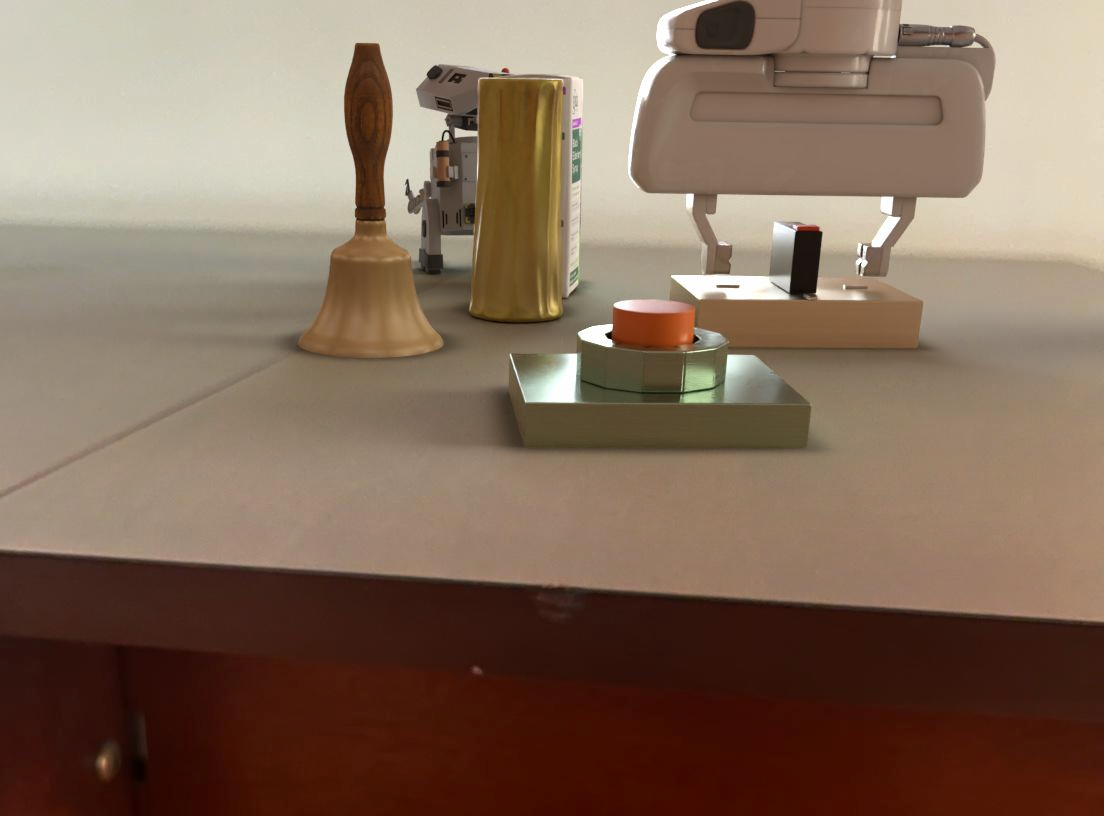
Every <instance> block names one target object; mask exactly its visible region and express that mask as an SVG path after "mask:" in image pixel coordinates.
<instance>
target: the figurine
mask: <svg viewBox="0 0 1104 816" xmlns="http://www.w3.org/2000/svg"><path fill="white" fill-rule="evenodd" d="M509 75H516V74H514V73H510V69H509V68H508V67H504V68H502V69H501V70H500V71H497V70H492V69H485V68H481V67H475V66H468V65H459V64H445V63H444V64H443V63H442V64H441V63H439V64H435V65H433V66H432V67H431V68H429V70H428V71H427V72H426V75H425V76H426V77H425V78H424V79H423V81H422V82H421V83H420V84H419V85H418V86H417V87H416V88H415V92H416V96H417V101H418V104H419V107H420V108H423V109H428V110H432V111H436V112H440V113H444V114H446V116H445V118H444V122H445V125H446V127H448V129H444V130H443V131H442V134H441V140H438V141H436V142H435V145H434V147H432V148H430V150H429V179H430V180H424V181H423V188H420V189H419V190H418V193H419V194H417V195H416V196H415V194H414V192H413V190H411V188H410V187H411V186H410V179H409V178H406V180H405V183H404V186H406V187H405V193H404V196H406V197H407V199H408V202H407V212H408V214H410V215H411V214H414V215H419V213H420V212H421V221H420V225H421V226H420V248H419V249H418V250H419V251H418V263H419V264H420V268H421V269H422V270H423V271H424V270H425V272H426V273H427V274H441V273H442V270H444V255H443V253H442V236H445V237H447V236H453V237H454V236H455V237H459V236H462V237H463V236H464V237H465V236H471V237H472V236H473V237H474V224H475V204H476V189H477V137H478V135H471V136H458V137H456V130H455V129H459V130H463V131H467V132H478V80H479V78H493V77H501V76H509ZM446 133H448V139H446V140H445V134H446Z"/></svg>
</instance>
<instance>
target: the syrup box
mask: <svg viewBox="0 0 1104 816" xmlns="http://www.w3.org/2000/svg"><path fill="white" fill-rule="evenodd" d="M493 78H531V79H562V80H563V104H562V169H561V238H562V289H561V292H562V298H564V299H565V298H569V296H570V294H571V293H572V292H573V291H574V290H575V289H576V288H577V287H578V285H579V284H580V271H581V270H580V269H581V267H580V265H581V222H582V217H581V216H582V182H583V181H582V180H583V179H582V176H583V173H582V172H583V129H584V127H583V123H584V118H583V117H584V115H583V114H584V79H583V77H581V76H576V75H566V74H554V73H553V74H551V73H522V74H521V73H520V74H515V75H509V76H501V77H493Z"/></svg>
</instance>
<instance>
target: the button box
mask: <svg viewBox="0 0 1104 816" xmlns="http://www.w3.org/2000/svg"><path fill="white" fill-rule="evenodd" d="M728 343H729V342H728V340H727V339H726V338H724V337H723V336H722V335H721V334H720V333H716V332H712V331H708V330H704V329H700V328H696V327H694V334H693V344H687V345H679V346H645V345H636V344H627V343H620V342H617V341H613V340H612V323H610V324H602V325H593V326H591V327H587V328H586V329H582V330H581V331H578V332H577V334H576V353H523V352H522V353H519V352H518V353H517V352H516V353H515V352H513V353H509V356H508V357H509V358H508V396H509V399H510V403H511V406H512V410H513V414H514V417H515V420H516V424H517V428H518V432H519V434H520V438H521V442H522V446H523V448H528V449H529V448H538V449H540V448H541V449H542V448H549V449H550V448H551V449H552V448H553V449H557V448H565V449H567V448H568V449H569V448H570V449H571V448H573V449H574V448H577V449H579V448H580V449H585V448H586V449H590V448H591V449H594V448H597V449H598V448H599V449H600V448H601V449H606V448H609V449H610V448H611V449H615V448H616V449H617V448H619V449H623V448H624V449H625V448H626V449H647V448H648V449H807V448H808V442H809V441H808V440H809V432H810V423H811V413H812V403H811V402H810V401H808V399H806V398H805V397H804V396H803V395H802V394H800V392H799V391H797V390H796V389H795V388H794V387H792V386H791V385H790V384H789V383H788V382H787V381H786V380H784V379H783V378H782V377H781V376H780V375H779V374H777V373H776V372H775V371H774V370H773V369H772V368H770V367H769V366H768V365H767V364H765V363H764V362H763V360H761V359H760V358H759V357H758V356H756V355H755V354H728V353H729V347H728Z"/></svg>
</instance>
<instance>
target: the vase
mask: <svg viewBox="0 0 1104 816" xmlns="http://www.w3.org/2000/svg"><path fill="white" fill-rule="evenodd" d="M562 104H563V80H562V79H531V78H479V80H478V131H477V136H478V137H477V189H476V204H475V224H474V236H473V241H472V262H471V281H470V282H471V284H470V300H469V307H468V312H469V313H470V315H471V316H473V317H475V318H478V319H481V320H486V321H490V322H491V321H492V322H500V323H539V322H540V323H541V322H547V321H553V320H556V319H557V320H558V318H560V317H561V316H562V315H563V313H564V307H563V297H562V292H561V289H562V238H561V169H562Z"/></svg>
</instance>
